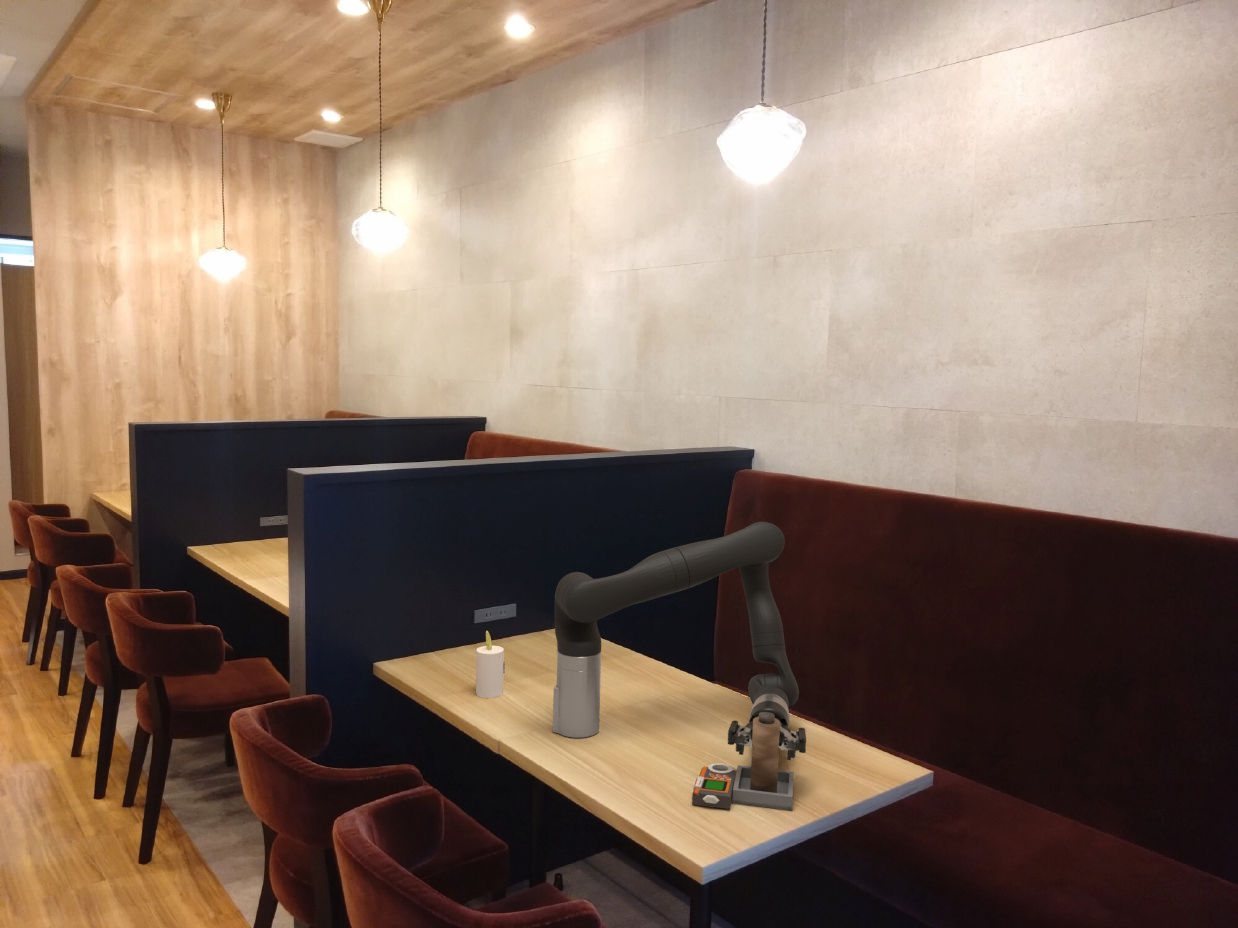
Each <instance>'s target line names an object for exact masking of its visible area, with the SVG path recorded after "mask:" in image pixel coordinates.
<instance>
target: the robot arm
mask: <svg viewBox="0 0 1238 928" xmlns="http://www.w3.org/2000/svg"><path fill="white" fill-rule="evenodd" d="M785 540H786V539H785V535H784V533H783V531H782V530H781V529H780V527H778V526H777V525H775V524H773V523H771V522H766V521H757V522H754V523H751V524H749V525H748V526H746V527H744V528H742V529H740V530H737V531H735V532H732V533H729V534H727V535H724V536H721V537H717V538H711V539H707V540H701V541H695V542H692V543H688V544H683V545H679V546H675V547H672V548H668V549H665V550H661V551H658V552H656V553H653V554H651V555H649V556H647V557H646V558H645V559H642V560H641V561H640V562H639V563H637V564H636V565H634V566H632V567H631V568H629V569H628V570H626V571H623V572H620V573H617V574H614V575H613V574H612V575H609V576H604V577H599V578H593V577H591V576H590V575H588V574H587V573H584V572H580V571H574V572H570V573H568V574H566V575H564V576H563V577H562V578H561V579H560V580H559V581H558V583H557V586H556V589H555V593H554V633H555V634H554V635H555V638H556V644H557V647H556V649H557V651H556V685H555V686H554V687H553V698H552V699H553V700H552V701H553V704H552V705H553V709H552V713H553V714H552V732H553V733H557V734H559V735H561V736H564V737H568V738H578V739H580V738H588V737H591V736H594V735H597V733H599V731H600V721H601V719H600V716H601V677H602V676H601V673H602V672H601V670H602V669H601V667H602V663H601V662H602V637H601V634H600V631H599V628H598V627H599V626H598V620H600V619H603V618H605V617H607V616H609V615H612V614H614V613H616V612H618V611H620V610H623V609H626V608H628V607H630V606H633V605H637V604H640V603H644V602H648V601H651V600H655V599H658V598H661V597H664V596H668V595H671V594H676V593H678V592H681V591H685V590H688V589H690V588H693V587H696V586H699V585H701V584H704V583H705V582H708V581H710V580H713V579H714V578H716V577H719V576H720V575H722V574H725V573H726V572H729V571H731V570H734V569H738V571H739V573H740V579H741V583H742V587H743V591H744V596H745V602H746V607H747V612H748V613H747V614H748V619H749V620H748V621H749V627H750V628H749V629H750V637H751V638H750V639H751V648H752V655H753V659H754V660H755V661H756V662H759V663H763V664H765V663H766V664H771V665H774V666H776V668H777V669H778V671H779V672H774V673H773V672H771V673H760V674H755V675H754V676H753V677H751V678H750V680H749V682H748V687H747V689H748V696H749V699H750V702H751V704H752V707H751V709H750V714H749V722H748V723H747V724H746V725H741V724H740V723H739V721H738V720H732V721H731V723H730V724H729V728H728V730H727V745H729V746H733V745H735V752H737V753H738V755H740V756H743V755H744V751H745V747H751V748H752V735H753V719H754V718H756V717H759V713H761V712H770V713H773V714H774V715H775V718H776V719H778V720H779V721H780V734H779V750H782V751H786V752H787V754H786V755H787V756H786V760H787V761H792V759H795V758H796V752H797V751H798V752H799V753H801V754H805V753H807V749H806V746H807V734H806V729H805V728H804V727H798V729H796V730H791V728H790V727H789V726H790V712H789V710H790V709H789V707H790V706H793V705H795V704H796V703H797V701H798V700H799V695H800V690H799V685H798V683H797V679H796V677H795V675H794V674H793V673H794V672H793V671H792V668H791V666H790V662H789V660H788V656H787V652H786V651H787V649H786V645H785V644H786V643H785V635H784V627H783V621H782V616H781V614H780V611H779V608H778V606H777V604H776V601H775V599H774V595H773V592H772V590H771V585H770V579H769V563H772V562H774V561H775V560H776V559H777V558H778V557H780V555H781V554H782V552H783V551H784V548H785V544H786V541H785Z"/></svg>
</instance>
